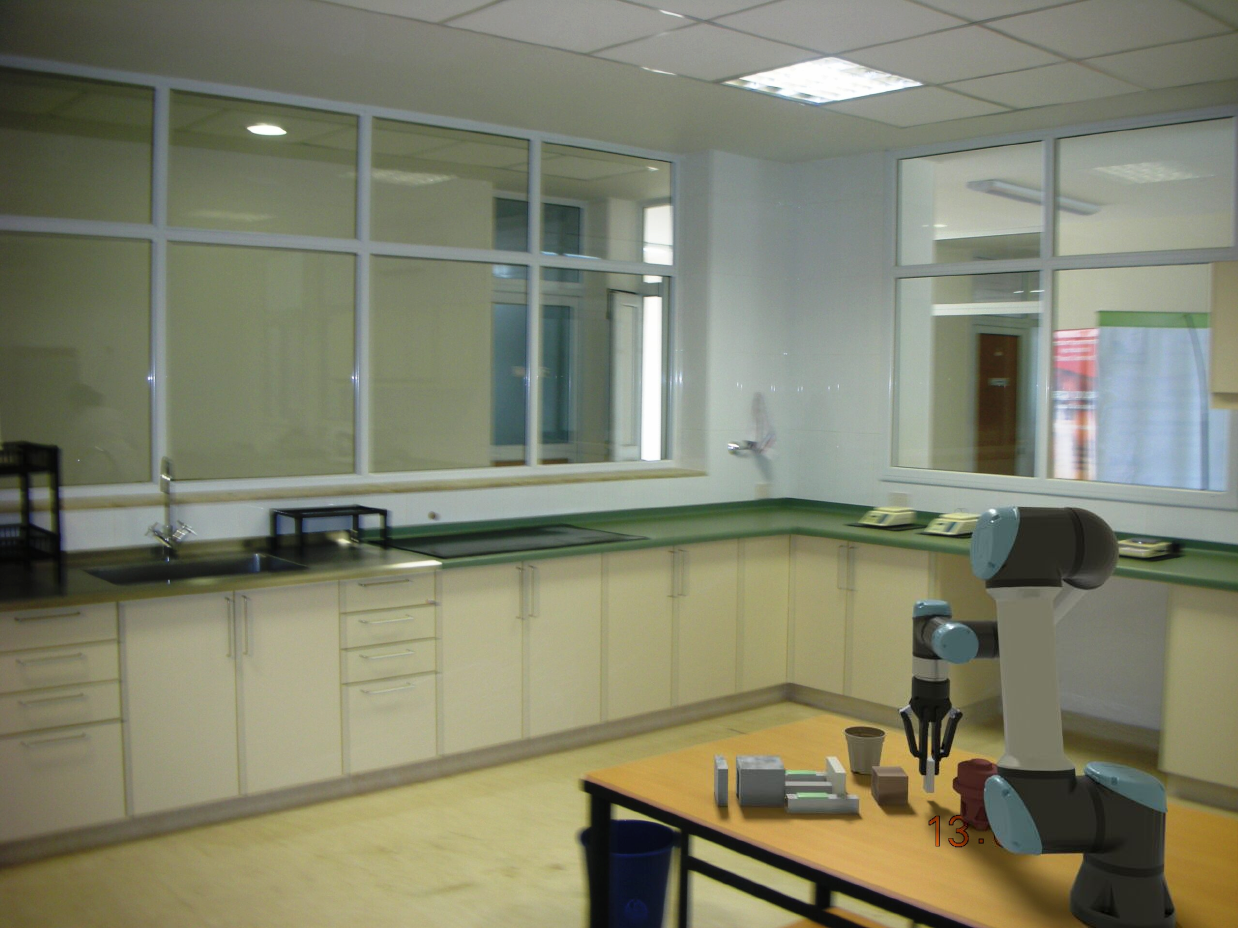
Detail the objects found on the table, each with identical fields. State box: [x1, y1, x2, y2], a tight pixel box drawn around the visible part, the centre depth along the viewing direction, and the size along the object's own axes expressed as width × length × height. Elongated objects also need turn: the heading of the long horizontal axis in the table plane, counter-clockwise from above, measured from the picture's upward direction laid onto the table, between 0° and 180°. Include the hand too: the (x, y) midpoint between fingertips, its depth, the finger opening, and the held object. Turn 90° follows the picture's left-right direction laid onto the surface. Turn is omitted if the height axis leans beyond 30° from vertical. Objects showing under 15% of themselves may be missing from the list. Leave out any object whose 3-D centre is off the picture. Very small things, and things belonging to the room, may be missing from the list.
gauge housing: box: [713, 754, 860, 815], centre depth 218 cm, size 16×28×8 cm, turn 90°
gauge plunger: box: [785, 756, 847, 798], centre depth 218 cm, size 10×14×7 cm
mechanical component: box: [952, 757, 997, 832], centre depth 204 cm, size 12×10×10 cm
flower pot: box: [842, 725, 888, 775], centre depth 235 cm, size 9×9×9 cm
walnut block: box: [870, 765, 909, 806], centre depth 218 cm, size 6×6×6 cm
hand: (928, 790), depth 218 cm, fingers closed
